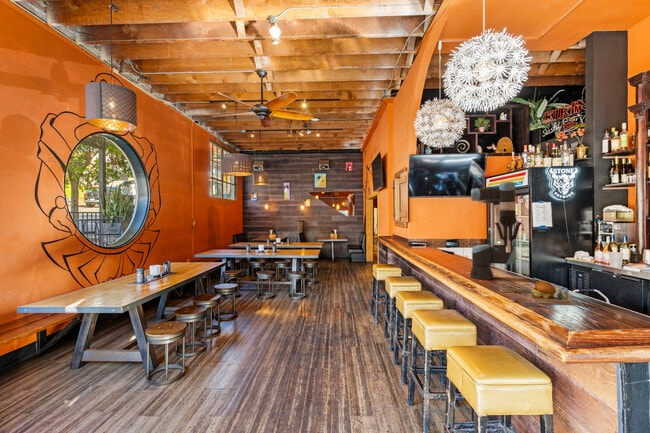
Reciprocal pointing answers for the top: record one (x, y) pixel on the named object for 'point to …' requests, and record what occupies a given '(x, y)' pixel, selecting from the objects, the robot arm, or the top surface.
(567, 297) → the lane
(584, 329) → the top surface
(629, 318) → the top surface
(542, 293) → the cheeseburger
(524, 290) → the mat
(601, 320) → the top surface
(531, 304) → the mat
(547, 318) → the top surface
